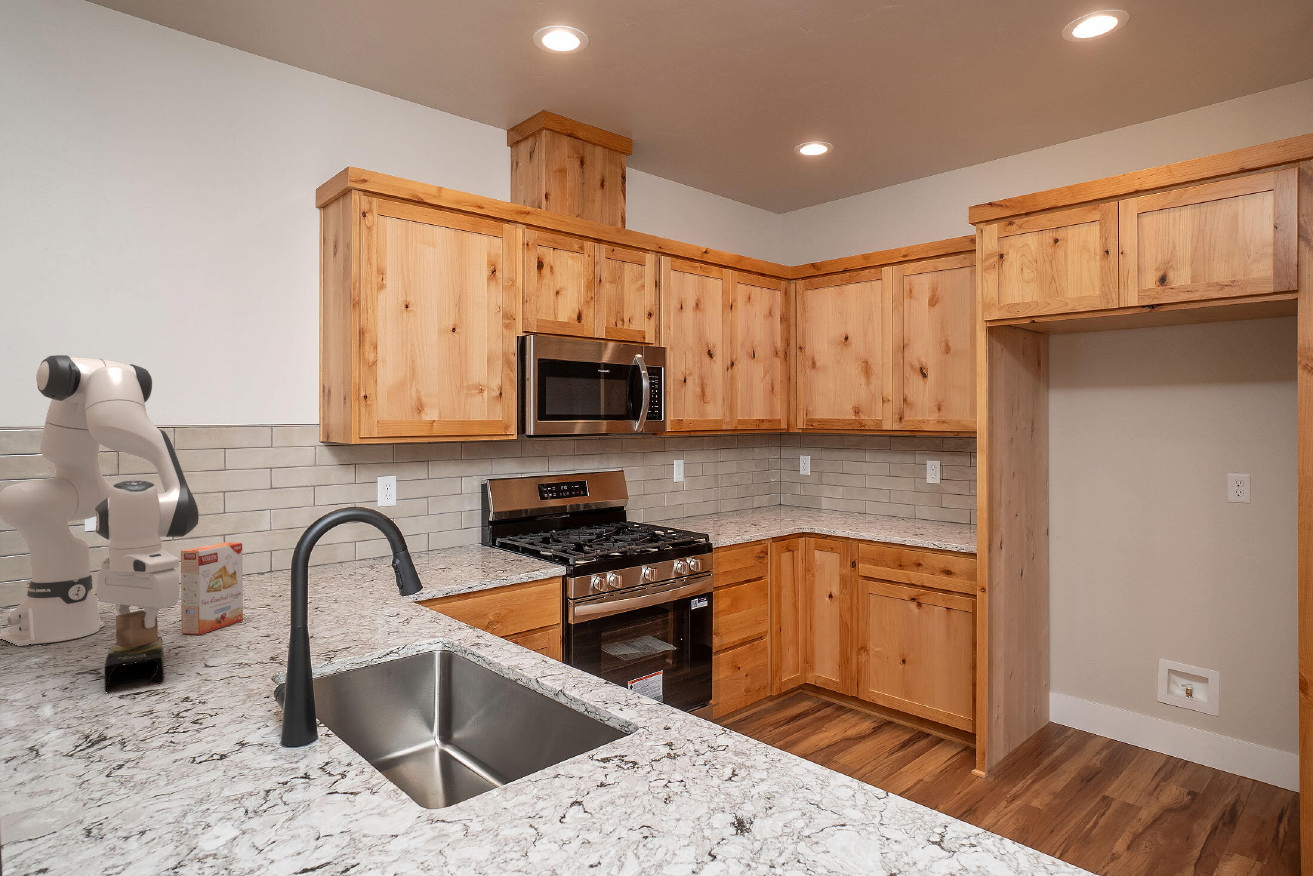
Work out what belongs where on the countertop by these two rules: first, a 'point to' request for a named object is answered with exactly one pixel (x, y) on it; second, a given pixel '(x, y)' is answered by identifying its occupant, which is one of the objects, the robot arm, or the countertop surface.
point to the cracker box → (211, 587)
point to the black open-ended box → (135, 658)
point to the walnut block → (134, 630)
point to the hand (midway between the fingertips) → (137, 626)
